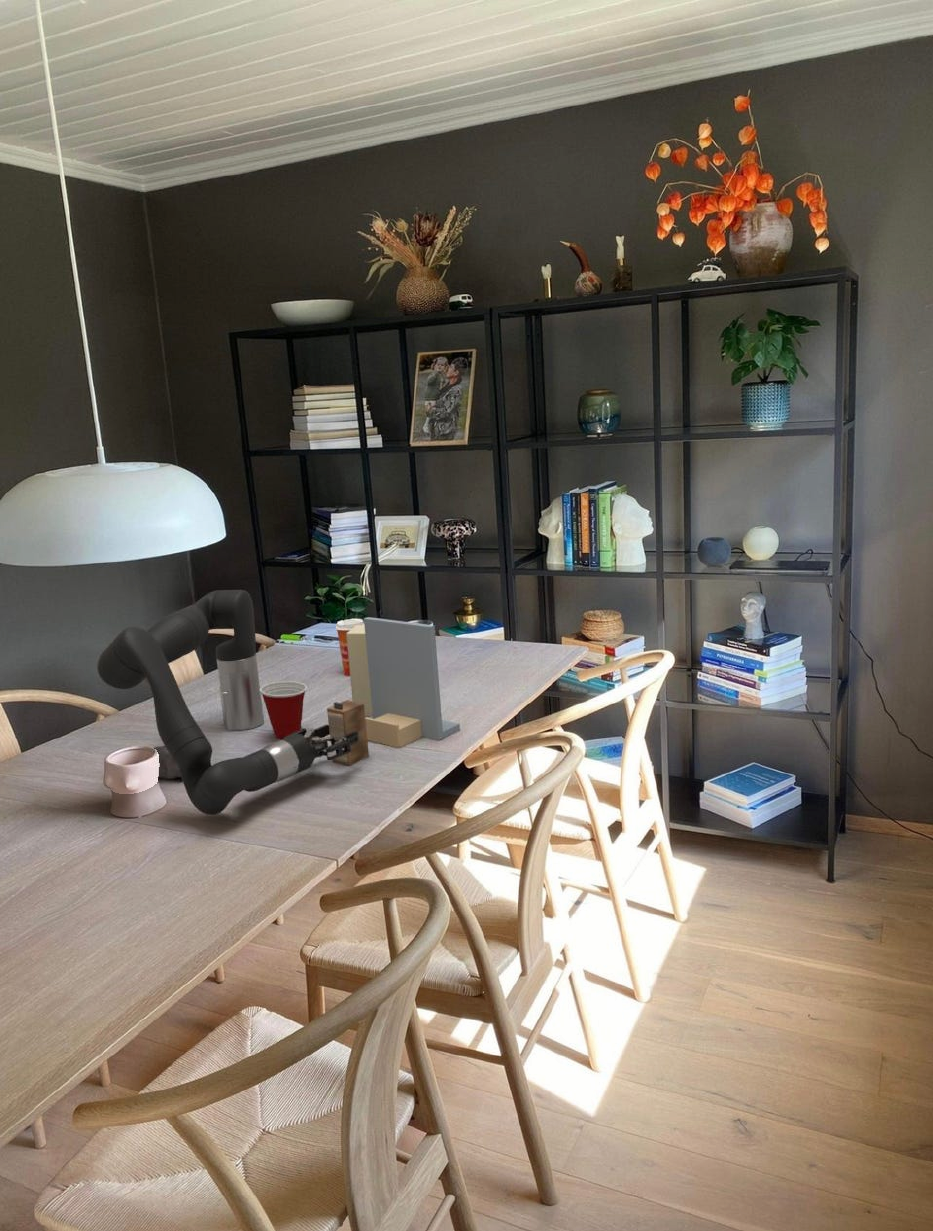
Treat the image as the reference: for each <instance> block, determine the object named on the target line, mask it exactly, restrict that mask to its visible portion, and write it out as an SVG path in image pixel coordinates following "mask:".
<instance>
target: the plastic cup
mask: <svg viewBox="0 0 933 1231" xmlns="http://www.w3.org/2000/svg"><path fill="white" fill-rule="evenodd" d="M307 689H308V686H307V685H306V684H305V683H303V682H300V681H294V680H281V681H273V682H270V683H269V682H268V683H265V684H263V685H262V686H261V685H260V689H259V690H260V692H261V697H262V699H263V702H264V704H265V707H266V711H267V714H268V717H269V722H270V725H271V726H272V727H271V728H272V730H273V734H274V737H275V738H276V740H281V739H283V738H284V737H286V736H288V735H290V734H292V733H294V732H297V731H299V730H301V729H302V722H303V721H302V720H303V712H304V711H303V709H304V698H305V693H306V692H307Z"/></svg>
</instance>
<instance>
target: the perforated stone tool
mask: <svg viewBox="0 0 933 1231" xmlns="http://www.w3.org/2000/svg"><path fill="white" fill-rule="evenodd" d="M153 748H154V749H156V750H157V752H158V754H159V763H160V767H159V777H160V778H159V779H165V780H174V779H176V778H181V774H180V771H179V767H178V765H177V764H176V762H175V761H174V759H173V758H172V756H171V755H170V753H169V751H168V750H167V748H166V747H165V745H163V746H155V747H153Z"/></svg>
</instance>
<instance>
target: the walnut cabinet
mask: <svg viewBox="0 0 933 1231" xmlns="http://www.w3.org/2000/svg"><path fill="white" fill-rule="evenodd" d="M326 710H327V711H326V713H327V721H328V725H329V732H330V735H329V737H330V736H333V737H334V738H339V737H343V736H345V735H347V734H350V733H352V732H354V731H355V732H358V736H359V741H358V742H356V743H354V744H352V745H350V746H351V752H349V753H347V754H345V755H342V756H340V757H338V758H335V759H333V760H332V763H336V762H337V764H340V765H344V766H347V765H348V766H347V767H350V766H352V765H354V764H356V763H358V761H359V762H360V760H361V761H362V759H363V760H365V759H367V758H369V757H370V753H369V742H368V740H367V730H366V720H365V718H366V716H365V710H364V703H359V702H354V701H352V700H348V699H346V700H344V701H341V702H333V705H332V706H330V707H327V708H326ZM336 743H339V742H336ZM336 743H335V744H336ZM366 757H367V758H366ZM364 758H365V759H364Z"/></svg>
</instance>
